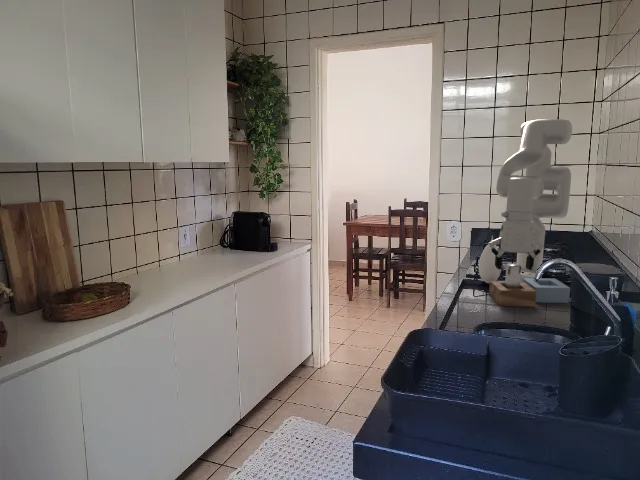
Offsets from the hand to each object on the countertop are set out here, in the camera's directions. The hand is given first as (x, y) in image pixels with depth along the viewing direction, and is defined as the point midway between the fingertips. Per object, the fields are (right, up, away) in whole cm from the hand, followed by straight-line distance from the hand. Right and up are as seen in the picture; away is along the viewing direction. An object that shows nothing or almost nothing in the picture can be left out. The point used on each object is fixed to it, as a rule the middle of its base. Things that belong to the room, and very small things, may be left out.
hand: (513, 268), depth 151 cm
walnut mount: (0, -11, +3) cm, 11 cm away
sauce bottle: (0, -7, +22) cm, 23 cm away
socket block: (+13, -10, +6) cm, 17 cm away
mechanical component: (+14, -8, +19) cm, 25 cm away
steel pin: (0, -11, +3) cm, 11 cm away
